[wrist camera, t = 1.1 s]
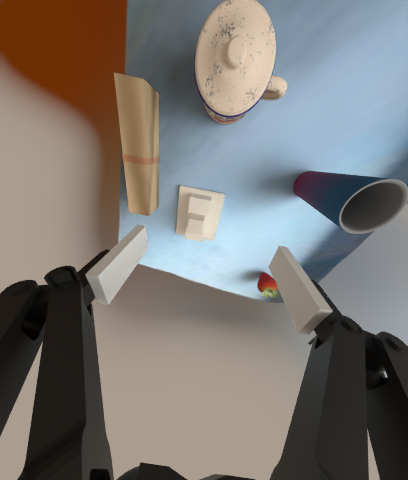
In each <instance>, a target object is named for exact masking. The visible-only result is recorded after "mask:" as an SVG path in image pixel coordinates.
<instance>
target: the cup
mask: <svg viewBox="0 0 408 480" xmlns="http://www.w3.org/2000/svg"><path fill="white" fill-rule="evenodd" d="M294 192H295V194H296V195H298V196H299V197H300V198H302V199H303V200H304V201H306V202H307V203H308V204H310V205H311V206H312V207H314V208H315V209H316V210H318V211H319V212H320V213H322V214H323V215H324V216H326V217H327V218H328V219H330V220H331V221H332V222H334V223H335V224H336V225H338V226H339V227H340V228H342V229H343V230H344V231H346V232H349V233H353V234H363V233H368V232H371V231H375V230H377V229H379V228H381V227H383V226H385V225H386V224H388V223H389V222H391V221H392V220H393V219H394V218H396V217H397V216H398V215H399V213H400V212H401V211H402V210H403V208H404V207H405V205H406V203H407V201H408V187H407V185H406V184H405V183H403V182H402V181H400V180H397V179H388V178H378V177H367V176H357V175H346V174H336V173H325V172H315V171H308V172H305V173H303V174H302V175H300V176H299V177H298V178H297V180H296V181H295V183H294Z"/></svg>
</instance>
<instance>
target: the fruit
mask: <svg viewBox="0 0 408 480" xmlns="http://www.w3.org/2000/svg"><path fill="white" fill-rule="evenodd" d="M257 286H258V289H259V291H260V292H262V295H263V298H264V295H265V294H266V299H267V298H268V294H269V295H270V296H271V297H273V296H274V297H275V298H276V295H275V294H278V293H276V292H277V291H276V290H277V284H276V282H275V280H274V279H273V278H272V277H271V276H270V275H268V274H267V273H262V274H261V276H260V278H259V281H258V284H257ZM274 293H275V294H274ZM278 295H279V294H278Z"/></svg>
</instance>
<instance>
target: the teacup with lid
mask: <svg viewBox="0 0 408 480" xmlns="http://www.w3.org/2000/svg"><path fill="white" fill-rule="evenodd" d="M275 56H276V42H275V33H274V29H273V25H272V22H271V20H270V17H269V15H268V14H267V12H266V10H265V9H264V8H263V7H262V5H261V4H259V3H258V2H257V1H256V0H225V1H224V2H222V3H221V4H220V5H218V6H217V7H216V8H215V9H214V10H213V12H212V13H211V14H210V16H209V17H208V19H207V20H206V22H205V24H204V26H203V28H202V30H201V33H200V35H199V38H198V42H197V46H196V50H195V59H194V73H195V80H196V85H197V88H198V91H199V94H200V96H201V98H202V100H203V102H204V105H205V108H206V110H207V112H208V114H209V115H210V117H211V118H212V119H213V120H215V121H216V122H218V123H221V124H233V123H235V122H237V121H239V120H240V119H242V118H243V117H244V116H245V115H246V113H247V112H248V111H249V110H251V109H252V108H253V107H254V106H255V105H256V104H257V103H258V101H259V100H260V99H261V100H276V99H279V98H281V97H282V96H283V95H284V94H285V92H286V89H287V83H286V81H285V80H284V79H282V78H280V77H277V76H274V75H272V73H273V70H274V65H275Z"/></svg>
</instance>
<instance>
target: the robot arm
mask: <svg viewBox="0 0 408 480" xmlns="http://www.w3.org/2000/svg"><path fill="white" fill-rule="evenodd" d="M147 249H148V245H147V235H146V226H142V225H137V226H136V227H135V228H134V229H133V230H132V231H131V232H130V233H129V234H128V235H127V236H125V237H124V238H123V239H122V240H121V241H120V242H119V243H118V244H117V245H116V246H115V247H114V248H113V249H112V250H105V251H103V252H101V253H99V254H98V255H97V256H96V257H95V258H94V259H92V260H91V261H90V262H89V263H88V264H87V265H85V266H84V267H83V268H82V269H81V270H80V271H79V272H76V269H75V268H74V267H72V266H63V267H59V268H56V269H54V270H52V271H50V272H49V273H48V274H46V276H45V277H44V279H45V281H46V282H47V284H48V285H39V286H38V284H37V283H36V281H33V280H25V281H20V282H17V283H15V284H12V285H11V286H9V287H7V288H6V289H5V290H4V291H2V292H1V294H0V436H1V433H2V431H3V429H4V427H5V424H6V422H7V420H8V418H9V415H10V413H11V411H12V409H13V406H14V404H15V402H16V399H17V397H18V395H19V393H20V391H21V388H22V386H23V384H24V382H25V379H26V377H27V375H28V373H29V370H30V368H31V366H32V364H33V361H34V359H35V357H36V355H37V352H38V350H39V348H40V346H41V343H42V341H43V345H42V352H41V358H40V366H39V372H38V379H37V387H36V394H35V400H34V407H33V414H32V421H31V427H30V434H29V442H28V448H27V455H26V461H25V466H24V469H23V471H22V474H21V475H20V477H19V478H18V480H114V477H113V468H112V459H111V452H110V447H109V443H108V440H107V436H106V430H105V422H104V412H103V403H102V393H101V383H100V374H99V365H98V355H97V345H96V336H95V326H94V317H93V308H92V304H91V302H92V301H93V300H94V298H96V301H97V303H100V304H107V305H109V303H110V302H111V300H112V299H113V297H114V296H115V295H116V293H117V292H118V291H119V289H120V288H121V286H122V285H123V283H124V282H125V281H126V279H127V278H128V276H129V275H130V274H131V272H132V271H133V269H134V268H135V266H136V265H137V264H138V262H139V261H140V259H141V258H142V257H143V255H144V254H145V252H146V251H147ZM269 269H270V271H271V273H272V275H273V278H274V280H275V282H276V284H277V287H278V289H279V291H280V293H281V296H282V298H283V300H284V302H285V305H286V307H287V309H288V311H289V313H290V316H291V318H292V320H293V323H294V325H295V327H296V329H297V332H298V333H303V334H310V333H311V332H312V331H313V330H314V331H315V333H316V334H317V335H316V336H315V337H314V338H313V339H312V340H311V341H310V342H309V343H308V344H312V343H313V344H312V348H311V351H310V355H309V359H308V362H307V366H306V370H305V373H304V377H303V380H302V384H301V388H300V391H299V395H298V398H297V402H296V406H295V409H294V413H293V416H292V420H291V424H290V427H289V431H288V435H287V438H286V442H285V446H284V449H283V453H282V456H281V459H280V461H279V463H278V464H277V466H276V467H275V468H274V470H273V473H272V475H271V478H270V480H369V473H368V438H367V428H368V432H369V436H370V440H371V444H372V448H373V452H374V456H375V461H376V465H377V468H378V472H379V477H380V480H408V346H407V345H406V344H405V343H403V341H401V340H400V339H399V338H397V337H395V336H393V335H392V334H389V333H387V332H380V333H378V334H377V335H374V334H371V333H369V332H367V331H364V330H362V328H361V327H360V326H359V325H358V324H357V323H356V322H355V321H353V320H352V319H350V318H348V317H346V316H342V314H341V313H340V312H339V310H338V309H337V308H336V306H335V305H334V304H333V302H332V301H331V300H330V299H329V297H327V295H326V293H325V292H324V291H323V289H322V288H321V287H320V285H318V284H317V283H316V282H315V281H314V280H310V279H309V277H308V276H307V274H306V273H305V272H304V270H303V269H302V267H301V266H300V265H299V263H298V262H297V261H296V259H295V258H294V256H293V255H292V254H291V252H290V251H289V249H288V248H287V247H283V246H279V247H278V249H277V251H276V253H275V255H274V257H273V259H272V261H271V263H270V265H269ZM384 371H386V373H387V376H388V378H386V377H385V375H384V373H383V372H384ZM117 480H187V479H185V478H184V477H182V476H181V475H180V474H178V473H177V472H175V471H174V470H173V469H171V468H170V467H168V466H161V465H154V464H147V463H140V466H138V467H135V468H133V469H131V470H129V471H128V472H126V473H124V474H123V475H122V476H120V477H119V478H118V479H117ZM200 480H255V479H249V478H242V477H235V476H229V475H218V474H214V475H211V476H209V477H206V478H203V479H200Z"/></svg>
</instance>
